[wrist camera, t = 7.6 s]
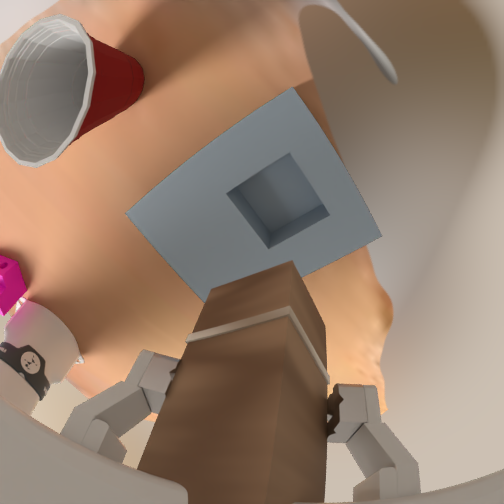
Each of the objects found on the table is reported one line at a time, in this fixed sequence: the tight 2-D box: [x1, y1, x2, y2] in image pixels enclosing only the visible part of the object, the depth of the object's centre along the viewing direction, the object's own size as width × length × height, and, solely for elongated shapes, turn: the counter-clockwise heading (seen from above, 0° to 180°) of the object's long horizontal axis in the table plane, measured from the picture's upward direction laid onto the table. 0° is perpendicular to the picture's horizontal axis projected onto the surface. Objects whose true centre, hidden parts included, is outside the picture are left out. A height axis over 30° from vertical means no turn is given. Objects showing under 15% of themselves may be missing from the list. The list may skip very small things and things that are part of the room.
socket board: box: [125, 87, 382, 303], centre depth 26 cm, size 18×14×4 cm
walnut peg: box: [137, 260, 330, 504], centre depth 9 cm, size 4×4×10 cm
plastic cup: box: [0, 14, 144, 168], centre depth 17 cm, size 11×11×12 cm
